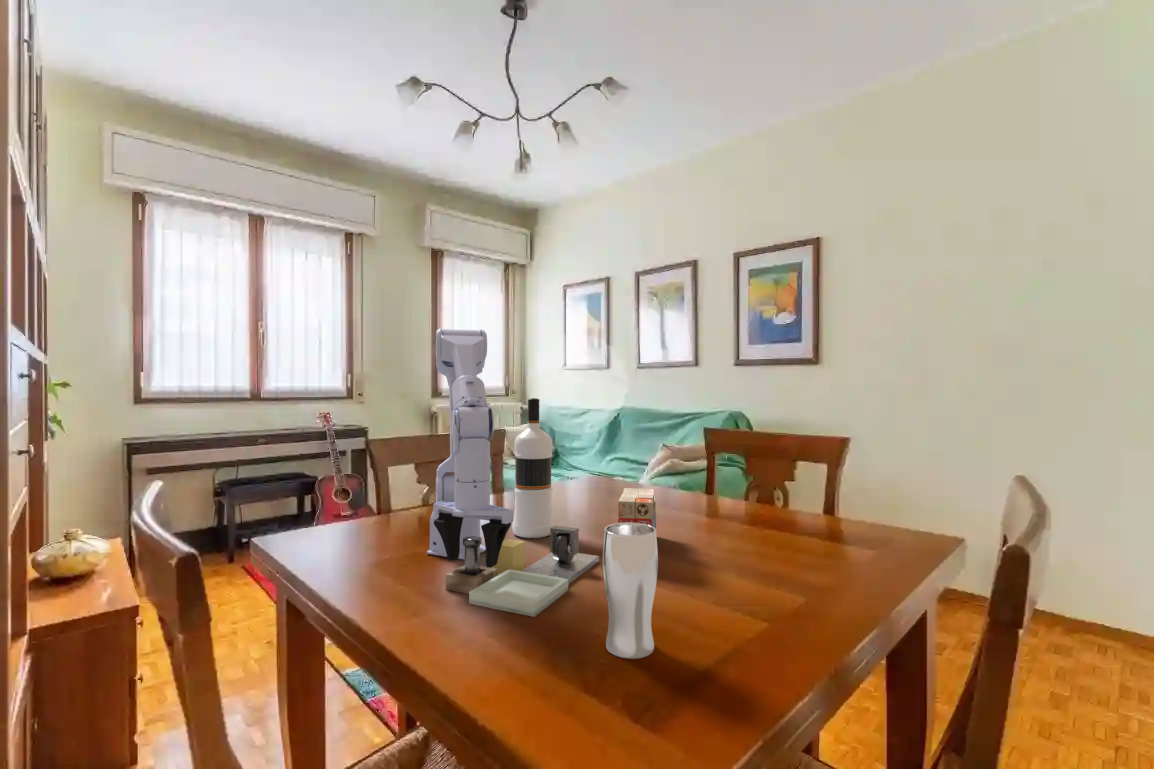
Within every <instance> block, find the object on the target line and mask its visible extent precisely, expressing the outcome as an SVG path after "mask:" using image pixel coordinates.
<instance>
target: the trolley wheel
mask: <svg viewBox="0 0 1154 769" xmlns="http://www.w3.org/2000/svg"><path fill="white" fill-rule="evenodd" d="M579 531H580V529H579V528H578V527H569V526H564V525H563V526H562V525H560V526H559V525H554V526H553V527H551V528H550V535H549V536H550V539H549V540H550V543H549V544H550V545H549V547H550V550H549V551H550V552H549V553H548V554H547V555H544V556H543V557H542V558H540V559H538V560H537V561H535V562H534V563H532V564H530V565H528V566H526V567H525V569H523V570H522V572H528V573H534V574H540V575H546V576H552V577H558V578H564V579H568V585H570V584H571V583H573V582H574V581H575V580H577V578H580V576H582V575H583V574H584V573H586V572H587V571H588V570H590V569H591V568H592V567H593V566H595V565H596V564H598V563H599V561H600V556H599V555H595V554H594V555H593V554H588V553H580V552H579V536H580V535H579V534H580V533H579Z"/></svg>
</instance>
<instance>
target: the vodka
mask: <svg viewBox="0 0 1154 769" xmlns="http://www.w3.org/2000/svg"><path fill="white" fill-rule="evenodd" d="M527 402H528V403H527V427H526V429H525V430H523V431H522V432H520V433H519V434H517V436H516V437H515V439H514V457H515V459H514V464H515V465H514V466H515V467H514V468H515V469H514V473H515V474H514V475H515V476H514V477H515V479H514V480H515V481H514V482H515V483H514V484H515V485H514V486H515V487H514V490H513V491H514V499H515V500H514V501H515V502H514V511H513V522H512V523H511V527H512V529H511V530H512V532H513V534H514V535H515V536H517V537H518V536H519V538H522V539H530V538H534V539H542V537H543V538H546V536H547V537H549V536H550V528H551V527H553V526H555V521H554V519H553V518H554V516H553V505H552V503H553V501H552V494H553V493H552V492H553V487H552V456H553V453H552V452H553V451H552V450H553V440H552V437H551V435H549V434H548V433H547V432H545V431H544V430H543V429H541V428H540V427H541V426H540V399H539V398H536V397H534V398H528V399H527Z"/></svg>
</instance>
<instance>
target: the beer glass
mask: <svg viewBox="0 0 1154 769" xmlns="http://www.w3.org/2000/svg"><path fill="white" fill-rule="evenodd" d="M603 530H604V534H603V544H602V546H603V547H602V576H603V583H604V584H603V585H604V590H605V596H606V602H607V610H608V629H607V634H606V639H605V648H606V650H607V652H608V653H610V654H612V655H613V656H614V657H618V658H621V659H628V660H629V659H630V660H637V659H643V658H646V657H648V656H650V655H651V654H652V653H654V652H655V651H654V650H655V642H654V637H653V636H654V635H653V631H652V630H653V629H652V611H653V606H654V599H655V595H656V590H657V588H656V587H657V581H658V574H659V573H658V572H659V553H658V552H659V551H658V541H657V539H658V538H657V528H656V529H655V528H654V527H653V526H650V525H647V524H641V523H629V522H626V523H618V522H616V523H610V524H608V525H606V526H605V527H604V529H603Z"/></svg>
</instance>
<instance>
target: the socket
mask: <svg viewBox="0 0 1154 769" xmlns="http://www.w3.org/2000/svg"><path fill="white" fill-rule="evenodd" d="M498 575H499V574H498V568H493V567H491V568H488V567H487V566H485V565H480V574H478V575H476V576H471V575H465V564H464V565H463V566H460V567H458V568H456V569H453V570H452V571H449V572H447V573H446V574H445V590H447V591H452V592H453V591H454V592H458V593H463V594H467V595H469V592H470V591H471V590H473V589H475V588H477V587H478V586H480V585H482V584H484V583H485V582H487V581H489V580H491V579H492V578H494V577H496V576H498Z"/></svg>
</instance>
